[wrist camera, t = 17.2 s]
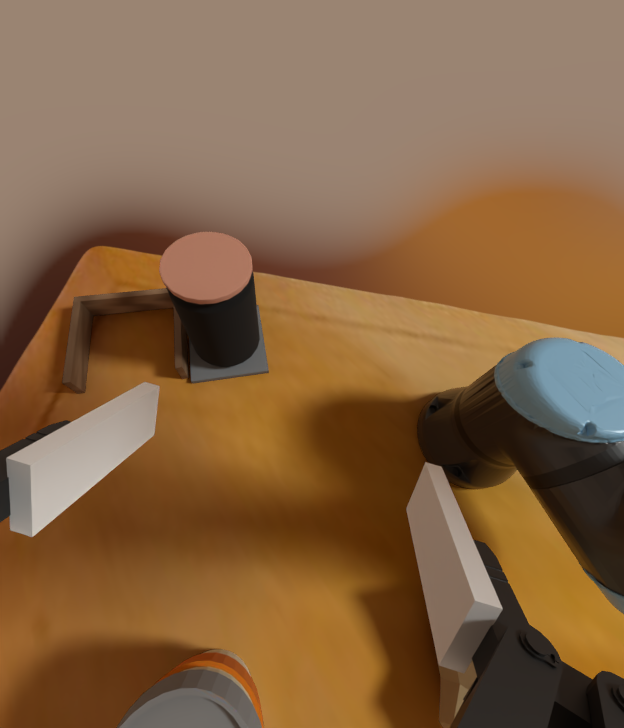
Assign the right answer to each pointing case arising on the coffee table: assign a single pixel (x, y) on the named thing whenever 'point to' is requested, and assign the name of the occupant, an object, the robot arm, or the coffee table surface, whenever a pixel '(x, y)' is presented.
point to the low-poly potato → (453, 692)
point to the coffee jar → (213, 295)
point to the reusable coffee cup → (200, 696)
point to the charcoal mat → (251, 366)
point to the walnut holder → (114, 304)
